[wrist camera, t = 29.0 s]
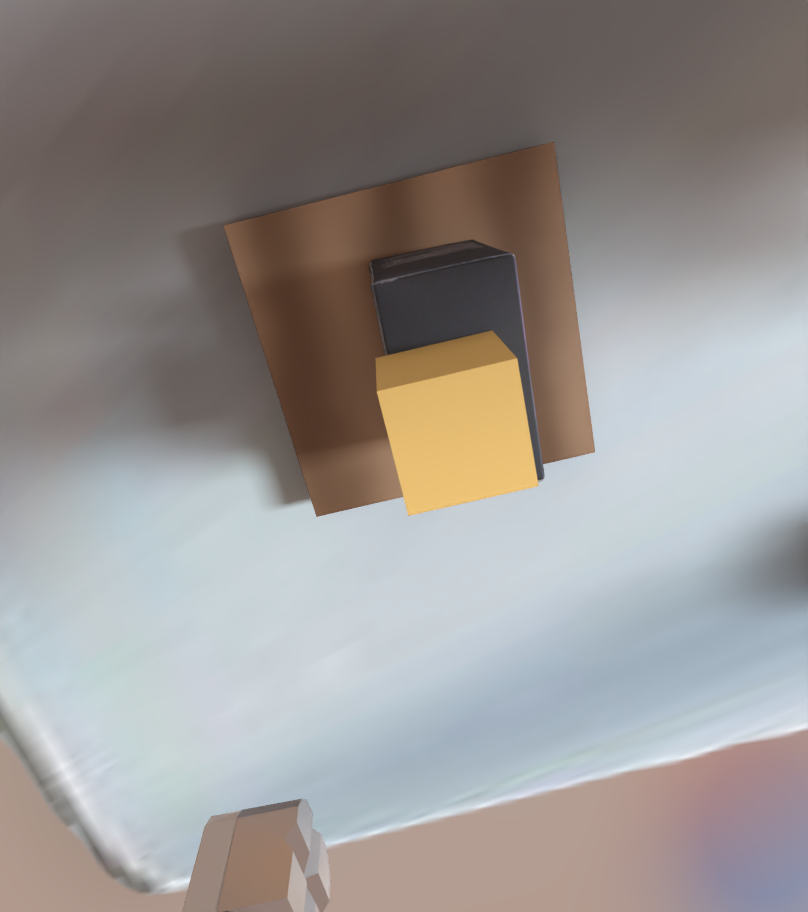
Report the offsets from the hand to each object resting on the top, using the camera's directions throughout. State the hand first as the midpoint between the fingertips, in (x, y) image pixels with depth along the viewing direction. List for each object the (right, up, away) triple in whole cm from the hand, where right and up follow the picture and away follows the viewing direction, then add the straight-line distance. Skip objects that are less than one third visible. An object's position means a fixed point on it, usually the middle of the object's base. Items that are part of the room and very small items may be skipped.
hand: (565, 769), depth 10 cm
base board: (-2, +12, +31) cm, 33 cm away
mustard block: (-1, +7, +18) cm, 20 cm away
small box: (0, +12, +28) cm, 30 cm away
